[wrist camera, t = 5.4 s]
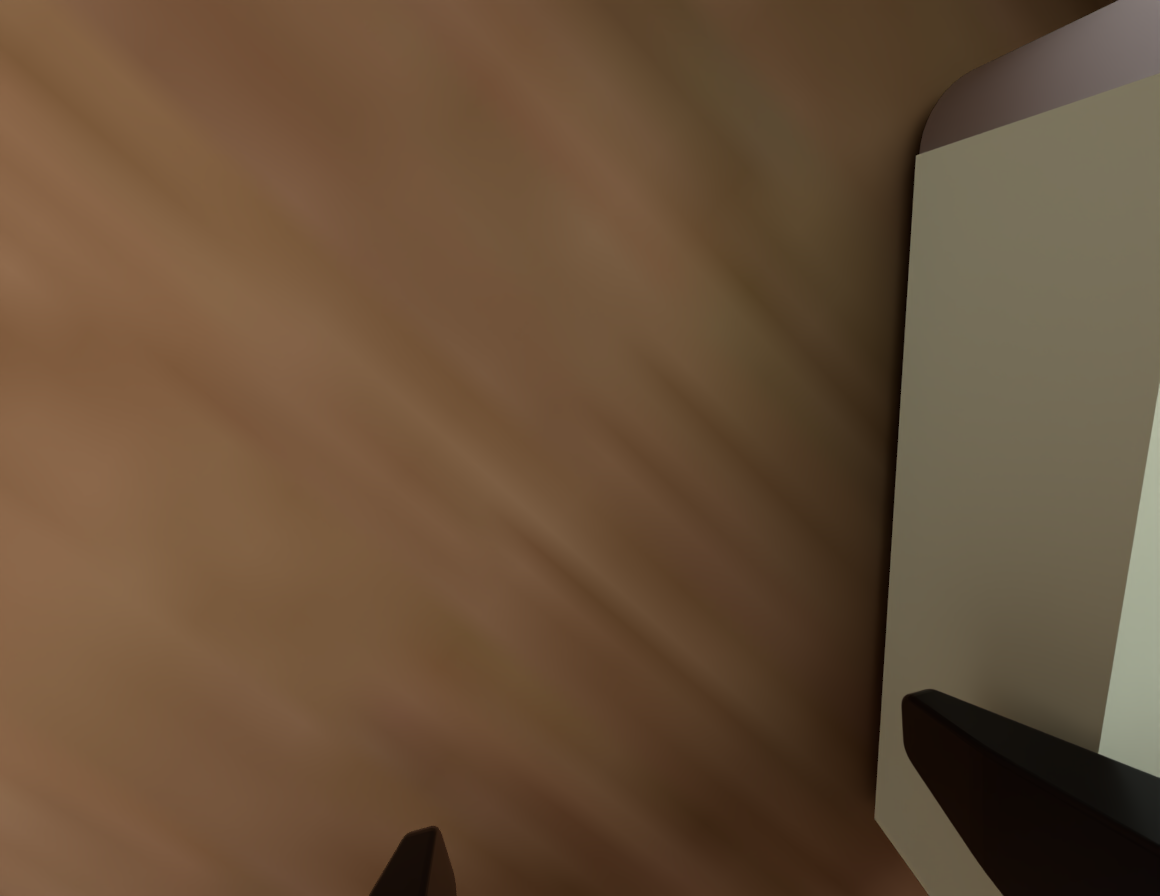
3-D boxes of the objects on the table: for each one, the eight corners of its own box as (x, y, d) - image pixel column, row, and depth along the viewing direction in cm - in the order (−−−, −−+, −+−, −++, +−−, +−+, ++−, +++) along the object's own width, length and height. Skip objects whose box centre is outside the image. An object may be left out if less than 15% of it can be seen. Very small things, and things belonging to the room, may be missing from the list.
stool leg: (921, 64, 9) (1302, -144, 5) (1080, 59, 9) (1577, -144, 5) (874, 819, 12) (1073, 1098, 8) (992, 799, 12) (1246, 1061, 8)
